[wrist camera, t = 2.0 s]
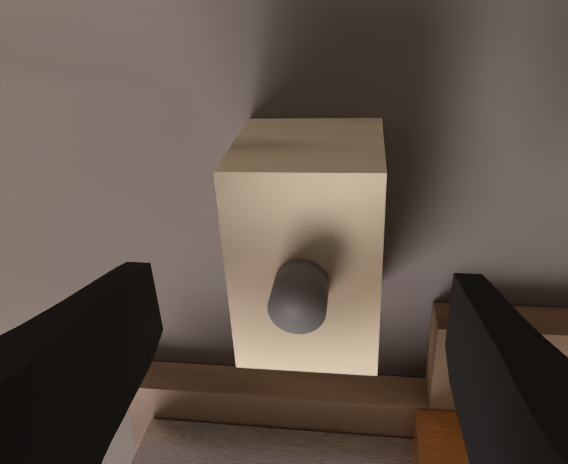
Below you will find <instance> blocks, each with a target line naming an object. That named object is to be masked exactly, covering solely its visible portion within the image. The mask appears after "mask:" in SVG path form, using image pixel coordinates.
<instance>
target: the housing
mask: <svg viewBox="0 0 568 464" xmlns="http://www.w3.org/2000/svg"><path fill="white" fill-rule="evenodd" d="M213 174H214V182H215V191H216V200H217V208H218V217H219V225H220V234H221V243H222V251H223V260H224V268H225V277H226V286H227V294H228V303H229V311H230V320H231V329H232V337H233V346H234V354H235V363H236V367H237V368H253V369H270V370H286V371H302V372H319V373H335V374H352V375H368V376H377V373H378V351H379V330H380V309H381V288H382V267H383V245H384V224H385V203H386V182H387V169H386V157H385V146H384V134H383V123H382V118H284V119H249V120H248V122H247V123H246V125H245V126H244V128H243V129H242V131H241V132H240V133H239V135H238V136H237V138H236V139H235V141H234V142H233V144H232V145H231V147H230V148H229V150H228V151H227V153H226V154H225V156H224V157H223V158H222V160H221V161H220V163H219V164H218V166H217V167H216V169H215V170H214V172H213Z"/></svg>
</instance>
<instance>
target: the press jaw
mask: <svg viewBox="0 0 568 464" xmlns="http://www.w3.org/2000/svg"><path fill="white" fill-rule="evenodd" d="M131 464H469V460H468V456H467V452H466V448H465V444H464V440H463V436H462V432H461V428H460V424H459V420H458V416H457V412H446V411H432V410H418V409H415V414H414V424H413V434H412V439H405V438H392V437H380V436H367V435H354V434H341V433H328V432H315V431H303V430H290V429H277V428H264V427H251V426H239V425H226V424H213V423H200V422H187V421H174V420H162V419H151V421H150V423H149V425H148V428H147V430H146V432H145V434H144V436H143V439H142V441H141V443H140V445H139V447H138V449H137V452H136V454H135V456H134V458H133V460H132V463H131Z"/></svg>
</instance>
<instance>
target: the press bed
mask: <svg viewBox="0 0 568 464" xmlns="http://www.w3.org/2000/svg"><path fill="white" fill-rule="evenodd" d="M512 306H513V307H514V308H515V309H516V310H517V311H518V312H519V313H520V314H521V315H522V316H523V317H524V318H525V319H526V320H527V321H528V322H529V323H530V324H531V325H532V326H533V327H534V328H535V329H536V330H537V331H538V332H539V333H540V334H542V335H543V336H544V337H545V338H546V339H547V340H548V341H549V342H551V343H552V344H553V345H554V346H555V347H556V348H558V349H559V350H560V351H561V352H562V353H563V354H565V355H566V356H567V357H568V308H564V307H540V306H516V305H512ZM449 307H450V303H444V302H433V308H432V318H431V327H430V337H429V346H428V356H427V365H426V375H425V378H417V377H401V376H384V375H377V376H368V375H352V374H335V373H319V372H302V371H286V370H270V369H253V368H237V367H236V366H223V365H206V364H190V363H174V362H158V361H152V363H151V365H150V368H149V370H148V372H147V374H146V376H145V378H144V379H143V381H142V383H141V385H140V387H139V389H138V391H137V393H136V395H135V397H134V399H133V401H132V403H131V405H130V407H129V408H128V410H127V411H128V415H129V419H130V423H131V427H132V431H133V435H134V439H135V443H136V447H137V449H138V447H139V445H140V443H141V441H142V439H143V436H144V434H145V432H146V430H147V428H148V425H149V423H150V421H151V419H162V420H174V421H187V422H200V423H213V424H226V425H239V426H251V427H264V428H277V429H290V430H303V431H315V432H328V433H341V434H354V435H367V436H380V437H392V438H405V439H412V434H413V424H414V414H415V409H418V410H432V411H446V412H456V408H455V404H454V400H453V396H452V392H451V388H450V383H449V376H448V367H447V358H446V349H445V340H446V332H447V324H448V316H449Z"/></svg>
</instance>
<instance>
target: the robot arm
mask: <svg viewBox="0 0 568 464" xmlns="http://www.w3.org/2000/svg"><path fill="white" fill-rule="evenodd" d="M162 331H163V326H162V321H161V316H160V310H159V305H158V300H157V295H156V290H155V285H154V280H153V274H152V269H151V264H150V263H141V262H126V263H124V264H122V265H120V266H118V267H116V268H115V269H113V270H111V271H110V272H108V273H106V274H105V275H103V276H101V277H100V278H98V279H97V280H95V281H93V282H92V283H90V284H89V285H87V286H85V287H84V288H82V289H81V290H79V291H77V292H76V293H74V294H73V295H71V296H69V297H68V298H66V299H65V300H63V301H61V302H60V303H58V304H56V305H55V306H53V307H51V308H49V309H48V310H46V311H44V312H42V313H41V314H39V315H37V316H35V317H34V318H32V319H30V320H28V321H27V322H25V323H23V324H21V325H20V326H18V327H16V328H14V329H12V330H10V331H8V332H6V333H4V334H2V335H0V464H101V463H102V461H103V458H104V456H105V454H106V452H107V450H108V447H109V445H110V443H111V441H112V439H113V437H114V435H115V433H116V431H117V430H118V428H119V426H120V424H121V422H122V420H123V418H124V416H125V414H126V412H127V410H128V408H129V407H130V405H131V403H132V401H133V399H134V397H135V395H136V393H137V391H138V389H139V387H140V385H141V383H142V381H143V379H144V378H145V376H146V374H147V372H148V370H149V368H150V365H151V363H152V360H153V358H154V355H155V352H156V349H157V347H158V343H159V340H160V337H161V334H162ZM445 349H446V358H447V367H448V376H449V383H450V388H451V392H452V396H453V400H454V404H455V408H456V412H457V416H458V420H459V424H460V428H461V432H462V436H463V440H464V444H465V448H466V452H467V456H468V460H469V464H568V357H567V356H566V355H565V354H563V353H562V352H561V351H560V350H559V349H558V348H556V347H555V346H554V345H553V344H552V343H551V342H549V341H548V340H547V339H546V338H545V337H544V336H543V335H542V334H540V333H539V332H538V331H537V330H536V329H535V328H534V327H533V326H532V325H531V324H530V323H529V322H528V321H527V320H526V319H525V318H524V317H523V316H522V315H521V314H520V313H519V312H518V311H517V310H516V309H515V308H514V307H513V306H512V305H511V304H510V303H509V302H508V301H507V300H506V299H505V298H504V297H503V296H502V295H501V294H500V293H499V292H498V291H497V289H496V288H495V287H494V286H493V285H492V284H491V283H490V282H489V281H488V280H487V279H486V278H485V277H484V276H483V275H482V274H463V273H454V275H453V283H452V291H451V299H450V307H449V316H448V324H447V332H446V340H445Z"/></svg>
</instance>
